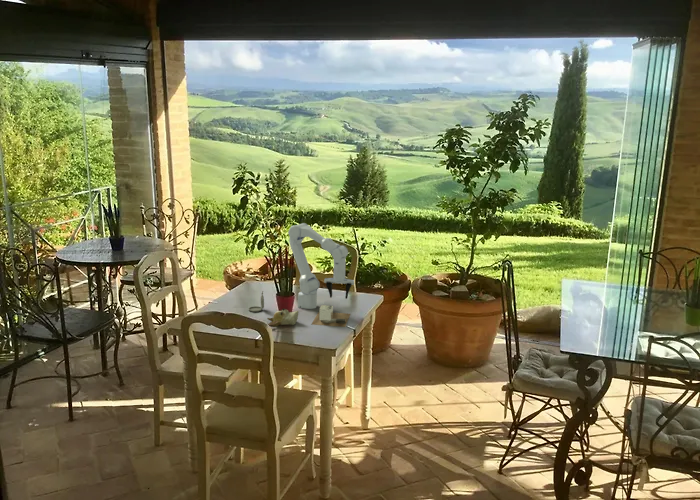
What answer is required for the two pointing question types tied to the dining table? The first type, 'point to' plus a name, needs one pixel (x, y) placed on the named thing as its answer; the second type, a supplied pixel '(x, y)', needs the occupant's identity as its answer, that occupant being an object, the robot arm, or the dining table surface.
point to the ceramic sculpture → (283, 318)
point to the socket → (326, 312)
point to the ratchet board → (333, 320)
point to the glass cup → (256, 309)
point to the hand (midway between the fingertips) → (338, 297)
